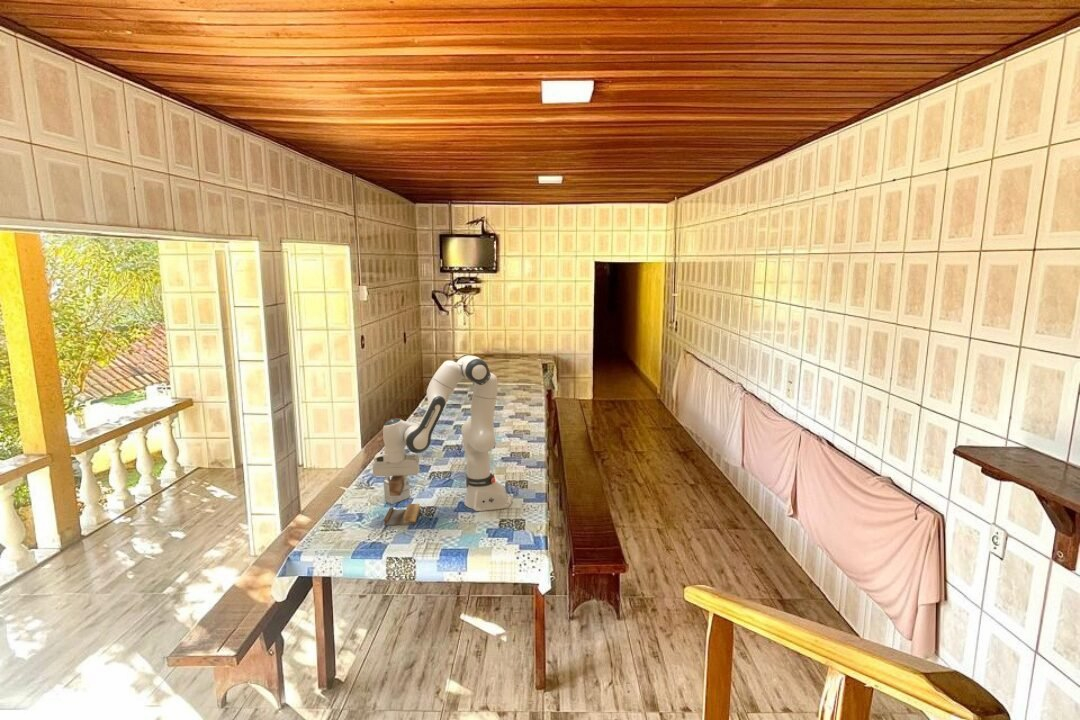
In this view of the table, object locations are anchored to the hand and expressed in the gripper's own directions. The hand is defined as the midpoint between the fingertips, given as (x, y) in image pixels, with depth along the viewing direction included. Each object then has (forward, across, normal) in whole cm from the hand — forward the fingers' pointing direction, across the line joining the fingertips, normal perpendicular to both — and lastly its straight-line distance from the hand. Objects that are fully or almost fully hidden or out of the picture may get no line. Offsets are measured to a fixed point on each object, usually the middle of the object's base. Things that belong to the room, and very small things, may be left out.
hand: (397, 484), depth 247 cm
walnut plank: (+3, 0, 0) cm, 3 cm away
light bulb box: (+17, +5, -20) cm, 26 cm away
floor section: (+16, -1, 0) cm, 16 cm away
